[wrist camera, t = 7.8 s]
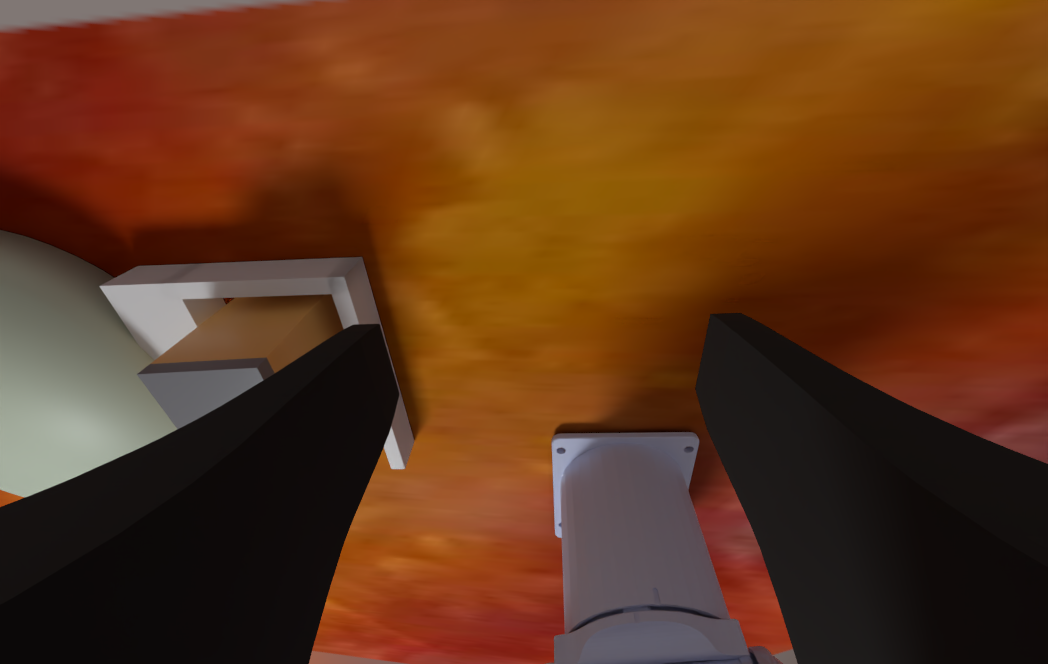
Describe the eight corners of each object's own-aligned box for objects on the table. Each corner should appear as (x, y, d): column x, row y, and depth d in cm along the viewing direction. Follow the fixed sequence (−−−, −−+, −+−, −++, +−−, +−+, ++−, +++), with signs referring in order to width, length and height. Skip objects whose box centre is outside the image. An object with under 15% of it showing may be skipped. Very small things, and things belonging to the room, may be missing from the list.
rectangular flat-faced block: (379, 414, 24) (335, 511, 19) (303, 417, 24) (240, 513, 19) (331, 286, 20) (256, 367, 15) (240, 293, 20) (136, 374, 15)
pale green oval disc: (421, 466, 26) (408, 510, 24) (31, 469, 28) (-20, 510, 25) (347, 205, 17) (314, 230, 15) (-212, 233, 19) (-325, 259, 17)
